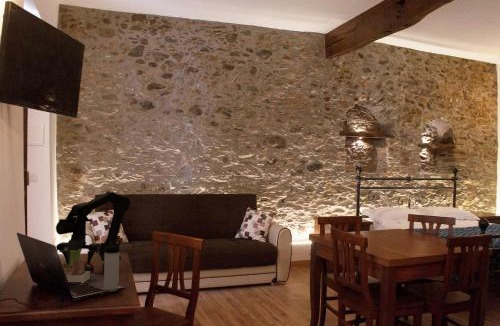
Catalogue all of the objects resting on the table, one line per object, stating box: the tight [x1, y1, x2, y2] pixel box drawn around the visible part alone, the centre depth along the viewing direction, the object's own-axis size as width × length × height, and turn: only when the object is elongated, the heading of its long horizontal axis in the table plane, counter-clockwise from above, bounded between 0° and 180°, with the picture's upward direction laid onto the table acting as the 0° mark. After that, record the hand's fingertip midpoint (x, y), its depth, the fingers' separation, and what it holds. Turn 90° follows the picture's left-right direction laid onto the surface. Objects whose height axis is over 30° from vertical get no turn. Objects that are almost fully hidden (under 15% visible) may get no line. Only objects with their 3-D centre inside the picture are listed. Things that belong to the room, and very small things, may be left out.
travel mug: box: [103, 242, 121, 293], centre depth 184 cm, size 6×7×20 cm
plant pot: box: [65, 249, 83, 268], centre depth 224 cm, size 9×9×9 cm
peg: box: [71, 261, 86, 275], centre depth 194 cm, size 4×4×9 cm
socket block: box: [65, 270, 91, 283], centre depth 194 cm, size 8×8×4 cm
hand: (78, 265), depth 194 cm, fingers open, 9 cm apart
